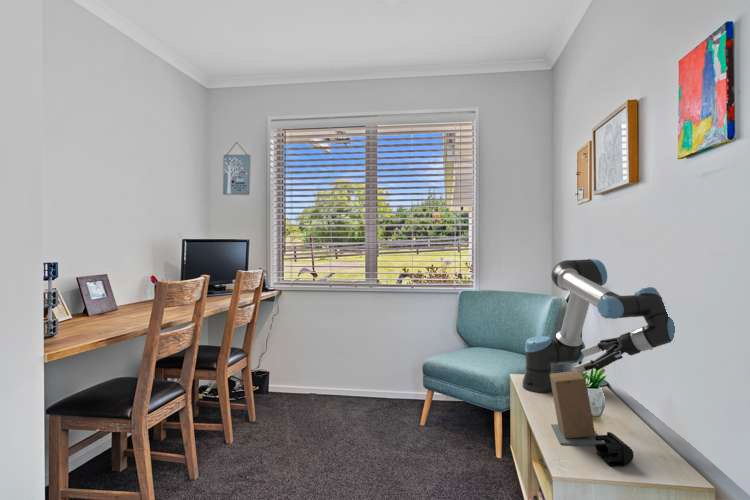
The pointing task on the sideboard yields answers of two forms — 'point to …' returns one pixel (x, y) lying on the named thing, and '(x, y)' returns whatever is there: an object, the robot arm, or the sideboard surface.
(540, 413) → the sideboard surface
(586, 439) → the mat
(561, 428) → the wooden block
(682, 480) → the sideboard surface
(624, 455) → the black rounded block
